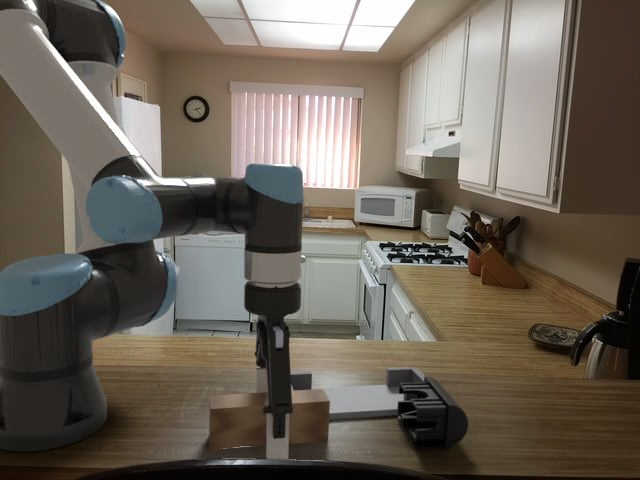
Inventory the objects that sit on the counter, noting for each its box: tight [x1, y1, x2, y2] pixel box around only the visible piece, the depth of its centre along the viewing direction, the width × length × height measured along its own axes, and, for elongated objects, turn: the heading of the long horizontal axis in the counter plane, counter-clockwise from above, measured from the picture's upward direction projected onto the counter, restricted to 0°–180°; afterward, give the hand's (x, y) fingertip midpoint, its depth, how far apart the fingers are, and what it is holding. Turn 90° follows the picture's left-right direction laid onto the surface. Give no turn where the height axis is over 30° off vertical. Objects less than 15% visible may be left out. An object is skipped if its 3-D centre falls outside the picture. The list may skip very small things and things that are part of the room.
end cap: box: [397, 375, 469, 452], centre depth 76 cm, size 10×7×7 cm
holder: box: [290, 366, 426, 421], centre depth 85 cm, size 24×9×4 cm, turn 102°
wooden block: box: [208, 388, 330, 451], centre depth 73 cm, size 16×4×6 cm, turn 103°
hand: (270, 432), depth 74 cm, fingers open, 13 cm apart
